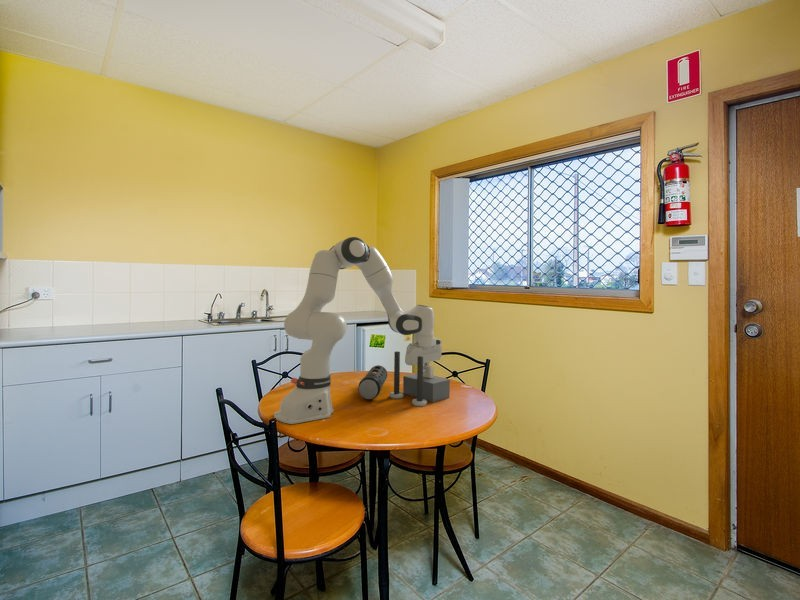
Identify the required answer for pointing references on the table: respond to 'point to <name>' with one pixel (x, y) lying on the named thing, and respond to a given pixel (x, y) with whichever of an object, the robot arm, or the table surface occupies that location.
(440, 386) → the box
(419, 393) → the right cord post
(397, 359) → the post
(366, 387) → the muzzle brake
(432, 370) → the breaker switch
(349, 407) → the table surface
